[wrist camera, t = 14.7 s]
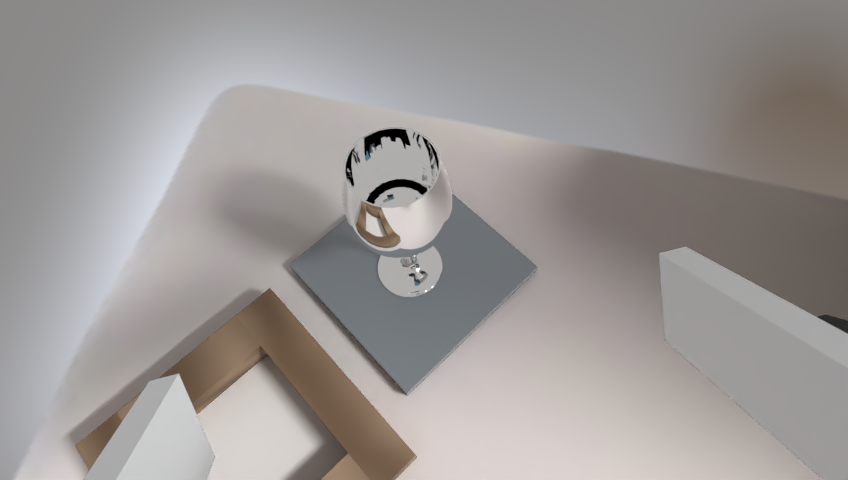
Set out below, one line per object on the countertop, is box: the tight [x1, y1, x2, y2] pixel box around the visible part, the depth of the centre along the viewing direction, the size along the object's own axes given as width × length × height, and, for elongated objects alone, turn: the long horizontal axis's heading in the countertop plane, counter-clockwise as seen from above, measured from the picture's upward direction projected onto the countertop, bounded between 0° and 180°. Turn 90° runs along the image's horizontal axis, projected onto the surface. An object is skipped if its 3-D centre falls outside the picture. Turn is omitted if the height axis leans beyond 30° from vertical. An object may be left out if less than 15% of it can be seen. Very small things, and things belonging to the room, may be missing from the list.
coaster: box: [290, 194, 537, 396], centre depth 36 cm, size 12×12×1 cm
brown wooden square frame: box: [76, 289, 417, 480], centre depth 31 cm, size 14×14×2 cm
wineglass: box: [342, 127, 452, 298], centre depth 30 cm, size 6×6×12 cm
